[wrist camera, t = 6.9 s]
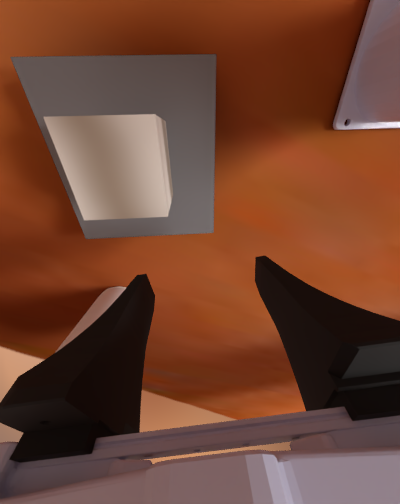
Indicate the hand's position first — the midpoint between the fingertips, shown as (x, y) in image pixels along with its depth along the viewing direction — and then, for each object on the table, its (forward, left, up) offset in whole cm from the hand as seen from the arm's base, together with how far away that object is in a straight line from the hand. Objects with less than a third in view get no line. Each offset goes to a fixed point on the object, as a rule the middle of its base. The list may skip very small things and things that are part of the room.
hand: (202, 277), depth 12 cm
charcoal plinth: (+5, -6, -9) cm, 12 cm away
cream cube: (+5, -6, -6) cm, 10 cm away
